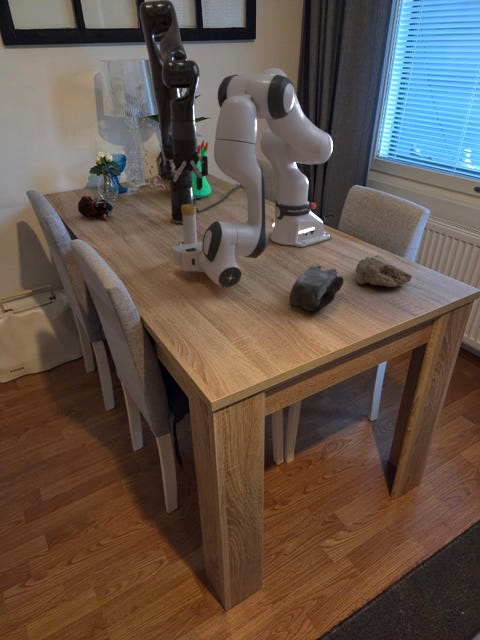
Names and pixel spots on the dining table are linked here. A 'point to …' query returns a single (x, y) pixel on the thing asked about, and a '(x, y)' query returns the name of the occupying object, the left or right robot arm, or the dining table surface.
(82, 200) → the toy
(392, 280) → the artifact
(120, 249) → the dining table surface
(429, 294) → the dining table surface
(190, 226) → the white tall cylinder
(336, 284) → the rock
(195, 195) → the toy
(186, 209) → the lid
